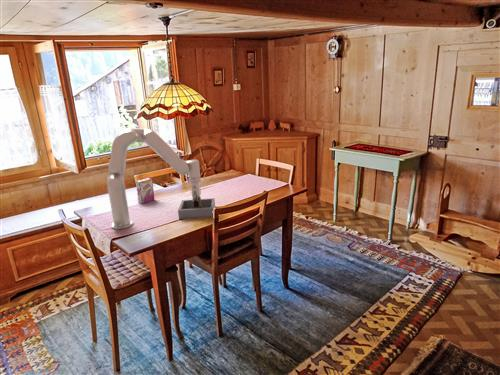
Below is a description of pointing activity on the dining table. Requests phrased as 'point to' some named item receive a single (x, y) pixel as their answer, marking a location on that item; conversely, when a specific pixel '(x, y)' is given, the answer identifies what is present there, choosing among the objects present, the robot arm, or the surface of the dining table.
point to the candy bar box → (145, 190)
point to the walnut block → (199, 203)
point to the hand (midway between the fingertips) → (197, 204)
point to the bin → (190, 213)
